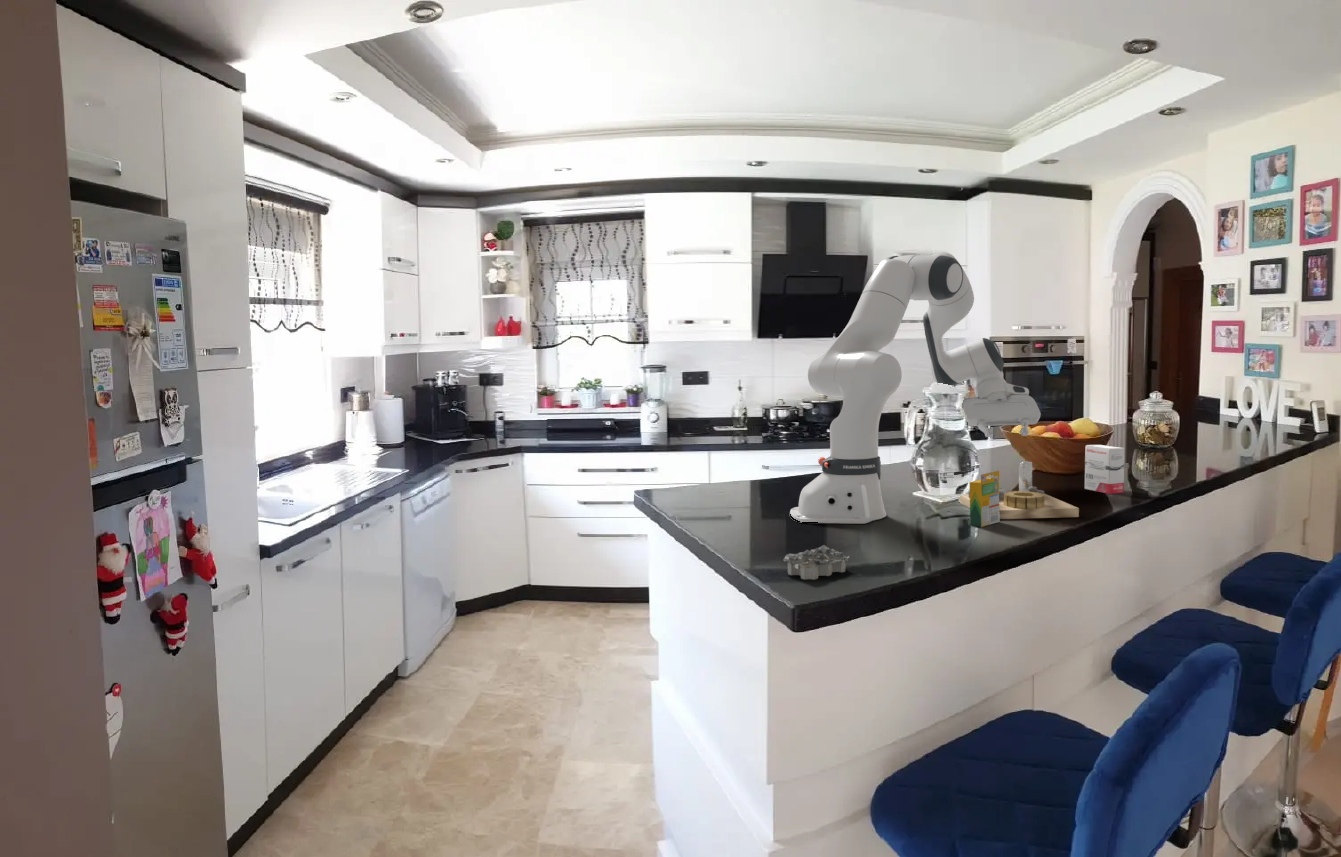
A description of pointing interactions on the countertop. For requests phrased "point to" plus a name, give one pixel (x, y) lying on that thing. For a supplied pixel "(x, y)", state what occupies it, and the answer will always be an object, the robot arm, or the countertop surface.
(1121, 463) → the ink box
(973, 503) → the crayon box
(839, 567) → the egg carton
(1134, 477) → the countertop surface
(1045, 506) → the gear board
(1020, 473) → the input shaft
